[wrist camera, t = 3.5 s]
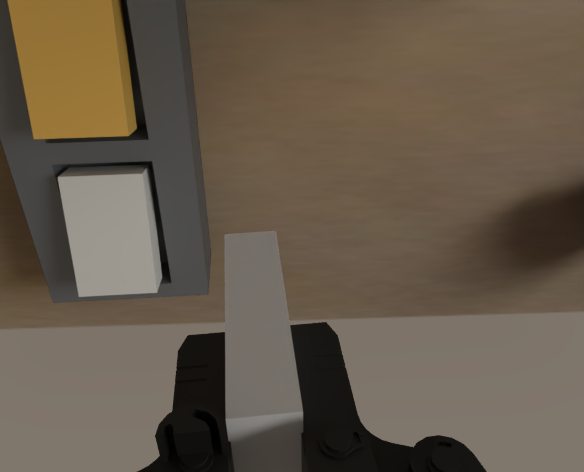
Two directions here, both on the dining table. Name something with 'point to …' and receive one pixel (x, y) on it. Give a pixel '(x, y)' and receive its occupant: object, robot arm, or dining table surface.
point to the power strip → (119, 153)
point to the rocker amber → (74, 67)
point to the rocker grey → (111, 229)
